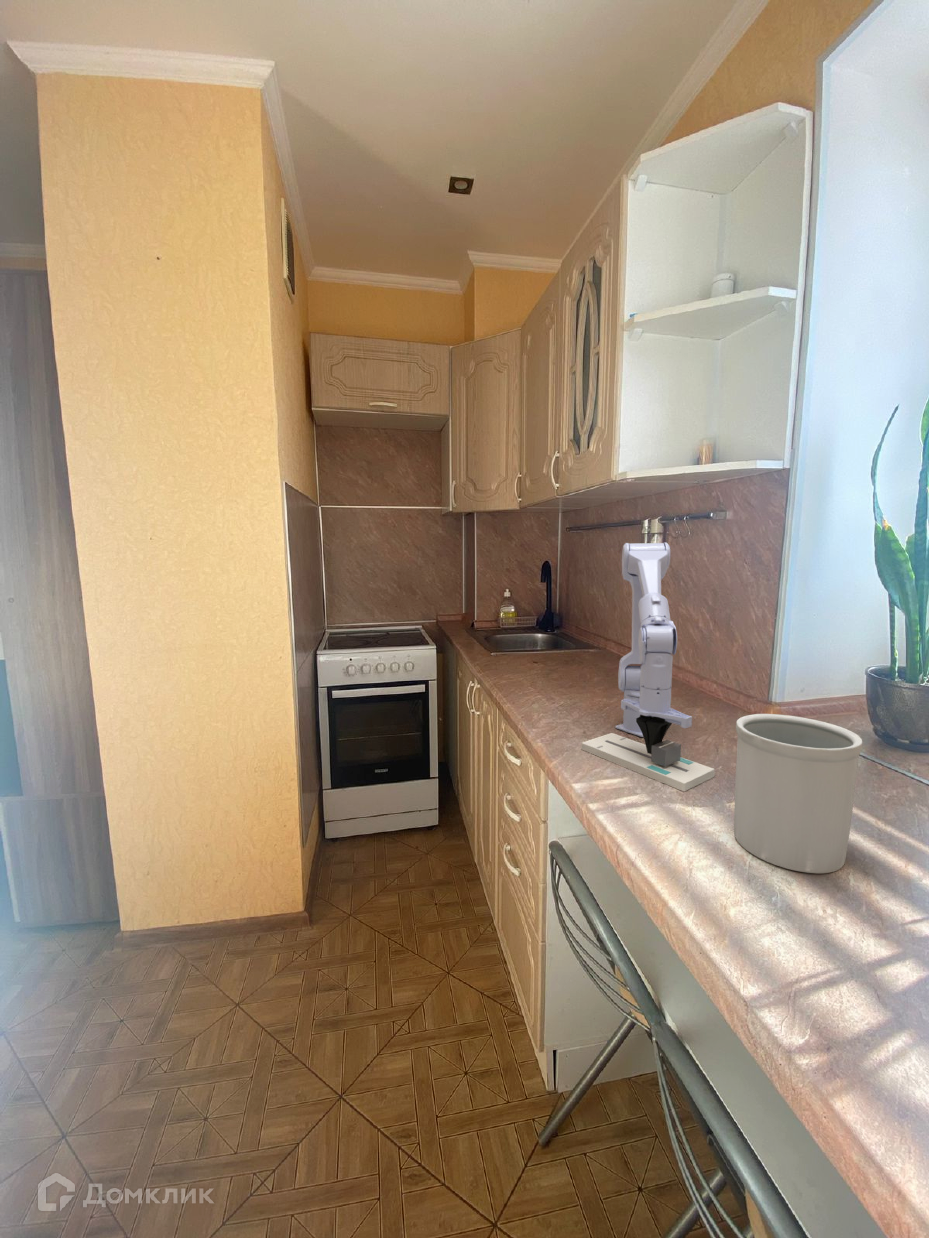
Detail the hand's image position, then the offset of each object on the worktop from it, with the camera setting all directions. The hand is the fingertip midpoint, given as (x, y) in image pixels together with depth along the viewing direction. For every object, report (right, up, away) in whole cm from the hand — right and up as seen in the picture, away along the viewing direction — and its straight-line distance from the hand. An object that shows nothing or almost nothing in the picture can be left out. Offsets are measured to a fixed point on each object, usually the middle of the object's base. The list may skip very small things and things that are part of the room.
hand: (652, 752), depth 101 cm
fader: (+2, -1, -2) cm, 3 cm away
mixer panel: (-1, -3, +2) cm, 3 cm away
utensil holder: (+10, -7, -27) cm, 29 cm away
